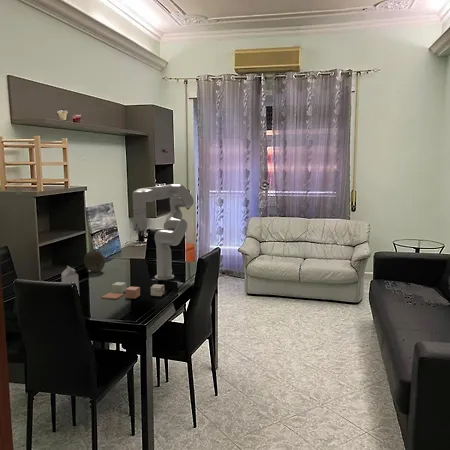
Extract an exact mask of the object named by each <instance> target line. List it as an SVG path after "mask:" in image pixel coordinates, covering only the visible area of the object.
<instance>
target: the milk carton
mask: <svg viewBox="0 0 450 450" xmlns="http://www.w3.org/2000/svg"><path fill="white" fill-rule="evenodd" d="M66 266H67V267H66V268H65V269H64V270H63V271H62V272H61V273H60V274H61V275H60V277H61V278H60V279H61V283H62V282H74V283H75V284H76V286H77V290H78V294H79V295H80V282H79V274H78V273H77V272H76V269H75V268H73V267H70V266H68V265H66Z"/></svg>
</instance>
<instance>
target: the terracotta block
mask: <svg viewBox="0 0 450 450" xmlns="http://www.w3.org/2000/svg"><path fill="white" fill-rule="evenodd" d="M124 293H125V298H126V299H137V298H139V297H140V296H141V287H140V286H128V287H127V289H125V292H124Z"/></svg>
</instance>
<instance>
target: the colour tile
mask: <svg viewBox="0 0 450 450" xmlns="http://www.w3.org/2000/svg"><path fill="white" fill-rule="evenodd" d="M124 293H125V292H123V293H112V292H108V293H106V294H105V295H103V296H101V299H104V300H118V299H119V298H122V297H123V296H124V295H125V294H124Z"/></svg>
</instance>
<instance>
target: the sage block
mask: <svg viewBox="0 0 450 450" xmlns="http://www.w3.org/2000/svg"><path fill="white" fill-rule="evenodd" d="M127 288H128V286H127V282H122V281H116V282H115V283H112V284H111V289H112V290H111V293H125V289H127Z"/></svg>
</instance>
